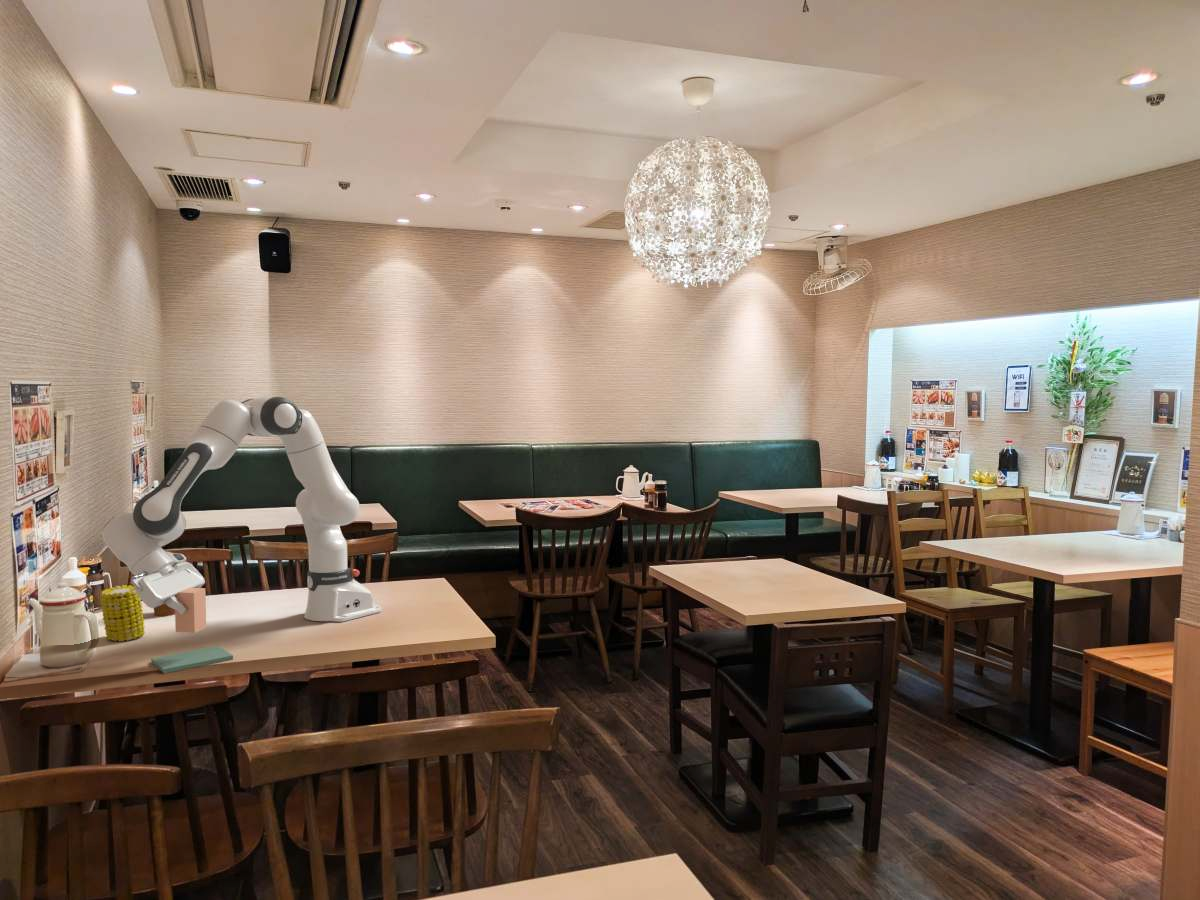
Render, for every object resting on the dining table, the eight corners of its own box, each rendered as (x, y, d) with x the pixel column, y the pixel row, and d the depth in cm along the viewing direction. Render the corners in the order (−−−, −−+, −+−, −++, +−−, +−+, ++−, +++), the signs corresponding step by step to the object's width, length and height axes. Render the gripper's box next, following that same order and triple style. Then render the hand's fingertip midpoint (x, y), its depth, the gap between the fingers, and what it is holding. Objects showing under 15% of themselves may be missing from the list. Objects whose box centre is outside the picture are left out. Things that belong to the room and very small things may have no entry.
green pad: (218, 649, 219) (218, 645, 219) (233, 659, 211) (232, 655, 211) (151, 662, 208) (151, 658, 208) (164, 673, 200) (163, 669, 200)
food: (151, 640, 231) (115, 652, 223) (126, 625, 237) (90, 636, 228) (155, 590, 228) (118, 599, 219) (129, 576, 233) (93, 584, 225)
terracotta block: (187, 626, 212) (186, 587, 211) (206, 627, 211) (205, 588, 210) (175, 632, 207) (174, 592, 206) (194, 632, 206) (193, 592, 206)
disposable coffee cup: (183, 615, 252) (182, 576, 251) (147, 619, 248) (146, 579, 247) (184, 608, 260) (182, 570, 260) (149, 611, 256) (148, 573, 255)
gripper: (136, 568, 198) (175, 610, 198) (186, 552, 218) (223, 590, 218) (119, 586, 199) (158, 628, 199) (171, 569, 219) (207, 607, 219)
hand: (192, 608), depth 209 cm, fingers closed on terracotta block, 5 cm apart
